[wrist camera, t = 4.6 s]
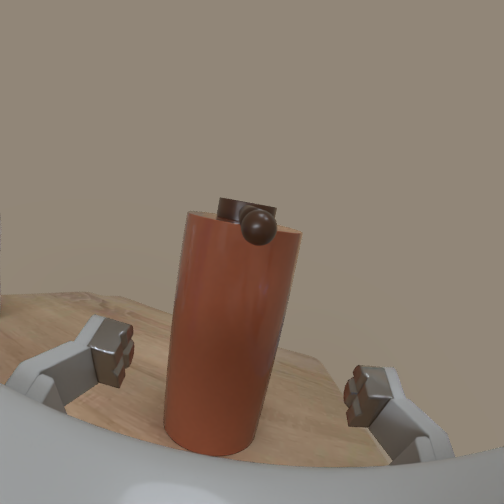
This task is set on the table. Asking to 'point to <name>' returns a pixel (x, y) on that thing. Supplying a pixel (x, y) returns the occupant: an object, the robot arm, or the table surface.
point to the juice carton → (0, 247)
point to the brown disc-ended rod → (250, 219)
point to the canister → (225, 332)
